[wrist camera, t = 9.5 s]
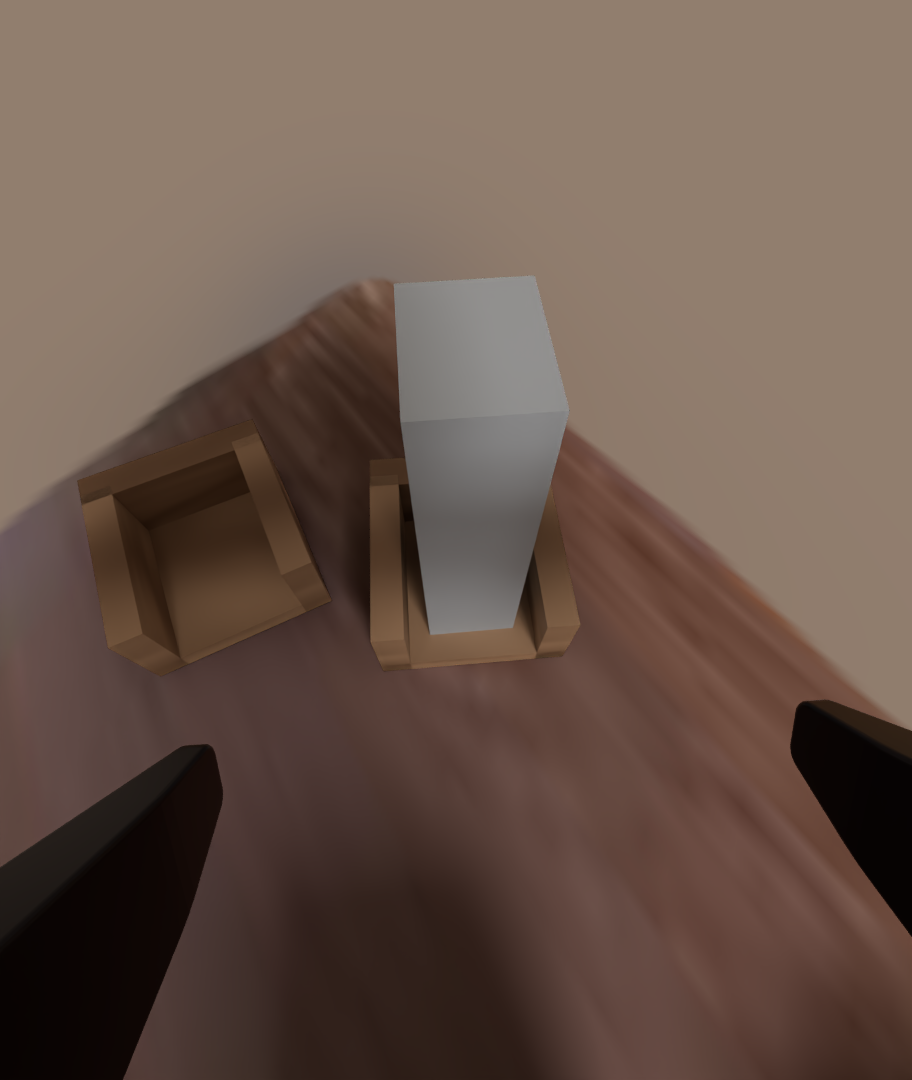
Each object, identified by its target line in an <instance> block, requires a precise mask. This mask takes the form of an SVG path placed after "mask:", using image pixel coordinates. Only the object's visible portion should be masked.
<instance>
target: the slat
mask: <svg viewBox="0 0 912 1080" xmlns="http://www.w3.org/2000/svg"><path fill="white" fill-rule="evenodd" d="M394 298H395V318H396V339H397V359H398V380H399V401H400V421H401V429H402V437H403V444H404V451H405V458H406V465H407V473H408V480H409V487H410V494H411V501H412V509H413V516H414V523H415V530H416V538H417V545H418V552H419V559H420V566H421V574H422V581H423V588H424V595H425V602H426V610H427V617H428V624H429V631H430V635H435V634H447V633H459V632H470V631H482V630H494V629H505V628H513V625H514V621H515V618H516V614H517V610H518V606H519V602H520V599H521V595H522V591H523V587H524V583H525V579H526V576H527V572H528V568H529V564H530V560H531V556H532V553H533V549H534V545H535V541H536V537H537V534H538V530H539V526H540V522H541V518H542V514H543V511H544V507H545V503H546V499H547V495H548V491H549V488H550V484H551V480H552V476H553V472H554V469H555V465H556V461H557V457H558V453H559V449H560V446H561V442H562V438H563V434H564V430H565V427H566V423H567V419H568V415H569V411H570V410H569V407H568V403H567V399H566V395H565V391H564V387H563V384H562V379H561V376H560V372H559V368H558V364H557V360H556V356H555V352H554V348H553V345H552V341H551V337H550V333H549V329H548V325H547V321H546V318H545V314H544V311H543V306H542V302H541V298H540V294H539V291H538V287H537V283H536V279H535V276H519V277H501V278H484V279H470V280H469V279H467V280H451V281H433V282H416V283H399V284H394Z"/></svg>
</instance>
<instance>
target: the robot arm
mask: <svg viewBox="0 0 912 1080" xmlns="http://www.w3.org/2000/svg"><path fill="white" fill-rule="evenodd" d="M790 749H791V755H792V758H793V761H794V763H795V765H796V766H797V768H798V770H799V771H800V773H801V774H802V776H803V778H804V779H805V781H806V782H807V784H808V786H809V787H810V789H811V791H812V792H813V794H814V795H815V797H816V799H817V800H818V802H819V803H820V805H821V807H822V808H823V810H824V812H825V813H826V815H827V816H828V818H829V820H830V821H831V823H832V824H833V826H834V828H835V829H836V831H837V833H838V834H839V836H840V837H841V839H842V841H843V842H844V844H845V845H846V847H847V848H848V850H849V851H850V853H851V854H852V856H853V857H854V859H855V860H856V862H857V863H858V865H859V866H860V867H861V869H862V870H863V872H864V873H865V874H866V876H867V877H868V879H869V880H870V881H871V883H872V884H873V885H874V887H875V888H876V889H877V891H878V892H879V893H880V895H881V896H882V898H883V899H884V900H885V902H886V903H887V904H888V906H889V907H890V908H891V910H892V911H893V912H894V914H895V915H896V916H897V918H898V919H899V920H900V922H901V923H902V924H903V926H904V927H905V928H906V930H907V931H908V933H909V934H910V935H911V937H912V731H910V730H908V729H905V728H902V727H900V726H897V725H895V724H892V723H889V722H887V721H884V720H881V719H879V718H876V717H873V716H871V715H868V714H865V713H863V712H860V711H857V710H855V709H852V708H849V707H847V706H844V705H841V704H839V703H836V702H833V701H830V700H814V701H803V702H801V703H800V704H799V705H798V706H797V708H796V712H795V719H794V725H793V731H792V738H791V744H790ZM222 800H223V789H222V783H221V779H220V774H219V769H218V764H217V760H216V755H215V752H214V749H213V748H212V746H210V745H208V744H202V745H188V746H182V747H180V748H178V749H177V750H175V751H174V752H172V753H171V754H169V755H168V756H166V757H165V758H163V759H162V760H160V761H159V762H157V763H156V764H154V765H153V766H151V767H150V768H148V769H147V770H145V771H144V772H142V773H141V774H139V775H138V776H136V777H135V778H133V779H132V780H130V781H129V782H127V783H126V784H124V785H123V786H121V787H120V788H118V789H117V790H115V791H114V792H112V793H111V794H109V795H108V796H106V797H105V798H103V799H102V800H100V801H99V802H97V803H96V804H94V805H93V806H91V807H90V808H88V809H87V810H85V811H84V812H82V813H81V814H79V815H78V816H76V817H75V818H73V819H72V820H70V821H69V822H67V823H66V824H64V825H63V826H61V827H60V828H58V829H57V830H55V831H54V832H52V833H51V834H49V835H48V836H46V837H45V838H43V839H42V840H40V841H39V842H37V843H36V844H34V845H33V846H31V847H30V848H28V849H27V850H25V851H24V852H22V853H21V854H19V855H18V856H16V857H15V858H13V859H12V860H10V861H9V862H7V863H6V864H4V865H3V866H1V867H0V1080H123V1078H124V1076H125V1073H126V1071H127V1068H128V1066H129V1063H130V1061H131V1058H132V1056H133V1053H134V1051H135V1048H136V1046H137V1043H138V1041H139V1038H140V1036H141V1033H142V1031H143V1028H144V1026H145V1023H146V1021H147V1018H148V1016H149V1014H150V1011H151V1009H152V1006H153V1004H154V1001H155V999H156V996H157V994H158V991H159V989H160V986H161V984H162V981H163V979H164V976H165V974H166V971H167V969H168V966H169V964H170V961H171V959H172V956H173V954H174V952H175V949H176V947H177V944H178V942H179V939H180V937H181V934H182V932H183V929H184V926H185V924H186V921H187V918H188V916H189V913H190V910H191V907H192V904H193V901H194V897H195V894H196V891H197V888H198V884H199V881H200V877H201V874H202V871H203V867H204V864H205V860H206V857H207V854H208V850H209V847H210V843H211V840H212V837H213V833H214V830H215V826H216V823H217V820H218V816H219V813H220V810H221V806H222Z"/></svg>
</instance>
